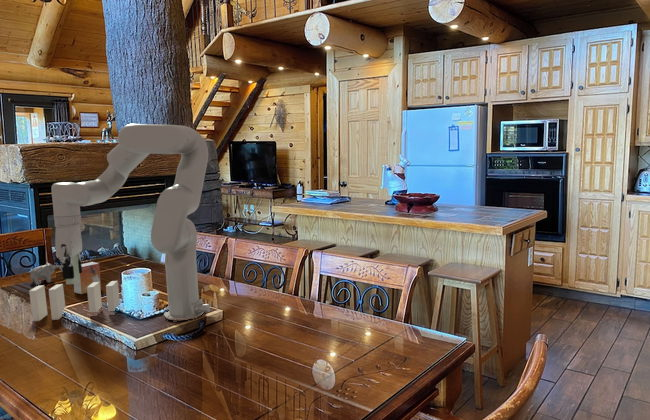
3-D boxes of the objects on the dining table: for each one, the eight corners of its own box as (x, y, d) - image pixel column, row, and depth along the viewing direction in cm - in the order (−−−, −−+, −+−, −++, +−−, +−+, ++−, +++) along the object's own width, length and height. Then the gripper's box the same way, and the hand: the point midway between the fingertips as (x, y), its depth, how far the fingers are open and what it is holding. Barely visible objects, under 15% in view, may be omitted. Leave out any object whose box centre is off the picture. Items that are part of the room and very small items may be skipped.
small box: (81, 294, 184) (78, 267, 183) (74, 292, 187) (71, 265, 186) (102, 289, 190) (99, 263, 189) (94, 287, 194) (92, 261, 192)
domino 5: (120, 309, 165) (117, 280, 164) (114, 315, 159) (112, 285, 158) (114, 309, 165) (111, 281, 164) (108, 316, 159) (105, 286, 158)
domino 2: (66, 313, 163) (62, 284, 162) (58, 319, 157) (55, 289, 156) (59, 313, 163) (56, 284, 162) (51, 319, 157) (48, 289, 156)
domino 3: (79, 279, 163) (77, 249, 161) (73, 284, 157) (70, 253, 155) (73, 279, 162) (70, 249, 161) (66, 284, 156) (63, 253, 155)
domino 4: (102, 310, 165) (99, 281, 163) (96, 316, 159) (93, 286, 157) (96, 311, 164) (93, 282, 163) (89, 317, 159) (86, 287, 157)
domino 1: (47, 314, 163) (44, 285, 161) (39, 320, 157) (35, 290, 155) (41, 314, 162) (37, 285, 161) (32, 321, 157) (29, 290, 155)
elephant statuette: (26, 285, 202) (23, 267, 200) (53, 276, 212) (50, 259, 211) (40, 287, 198) (37, 269, 196) (67, 278, 208) (64, 260, 207)
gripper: (66, 217, 165) (71, 269, 167) (43, 225, 148) (49, 283, 150) (89, 216, 166) (94, 268, 168) (69, 224, 149) (74, 282, 151)
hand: (72, 275), depth 159 cm, fingers closed on domino 3, 5 cm apart
